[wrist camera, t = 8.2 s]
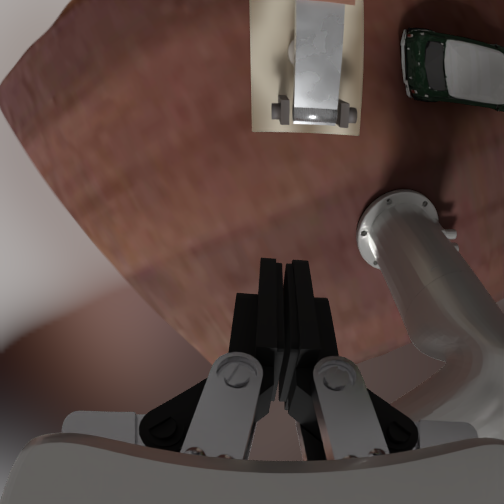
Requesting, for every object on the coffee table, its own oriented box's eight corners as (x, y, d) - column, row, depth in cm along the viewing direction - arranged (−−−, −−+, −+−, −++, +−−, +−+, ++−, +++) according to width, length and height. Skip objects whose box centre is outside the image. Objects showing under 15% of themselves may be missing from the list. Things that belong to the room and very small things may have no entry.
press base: (357, -38, 21) (376, -56, 15) (355, 132, 33) (374, 148, 28) (248, -47, 21) (246, -69, 16) (252, 129, 34) (250, 143, 28)
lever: (337, 119, 28) (343, 130, 26) (285, 117, 28) (287, 127, 26) (347, -69, 14) (355, -75, 12) (286, -76, 14) (288, -83, 12)
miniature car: (503, 108, 29) (539, 124, 22) (397, 97, 30) (429, 108, 24) (502, 49, 24) (540, 55, 17) (391, 27, 25) (423, 21, 19)
